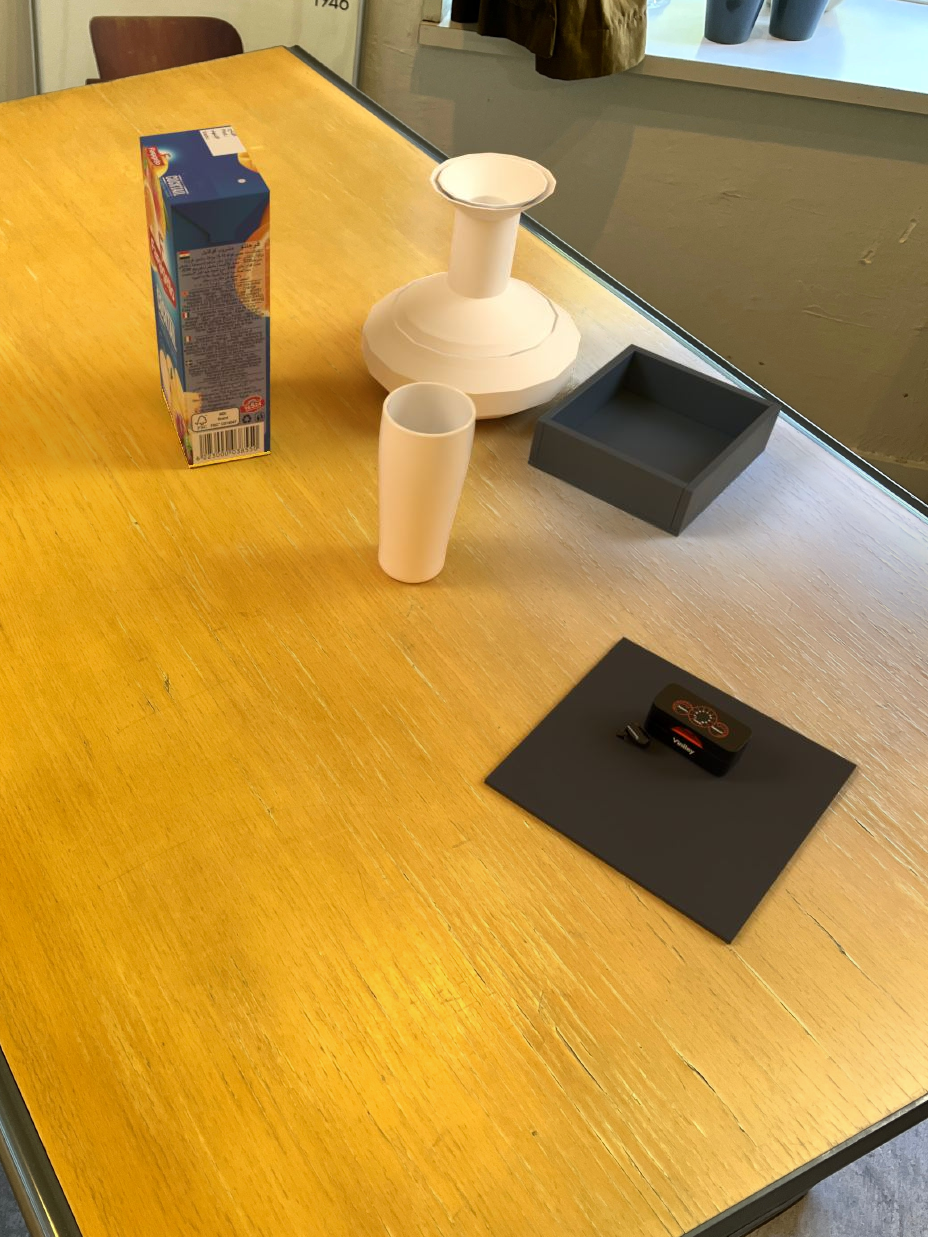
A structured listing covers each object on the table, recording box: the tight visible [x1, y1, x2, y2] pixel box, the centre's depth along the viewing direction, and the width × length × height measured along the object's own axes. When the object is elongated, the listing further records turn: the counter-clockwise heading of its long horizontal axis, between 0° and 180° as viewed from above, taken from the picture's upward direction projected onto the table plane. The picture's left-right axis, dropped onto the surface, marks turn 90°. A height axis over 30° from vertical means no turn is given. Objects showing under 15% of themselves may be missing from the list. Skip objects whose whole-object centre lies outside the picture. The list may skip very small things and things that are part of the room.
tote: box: [527, 343, 783, 538], centre depth 98 cm, size 15×16×5 cm
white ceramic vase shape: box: [361, 152, 582, 421], centre depth 101 cm, size 20×20×19 cm
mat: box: [483, 636, 858, 945], centre depth 77 cm, size 18×18×1 cm
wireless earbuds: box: [616, 683, 752, 777], centre depth 76 cm, size 5×7×3 cm, turn 44°
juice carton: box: [138, 124, 271, 465], centre depth 95 cm, size 12×8×24 cm, turn 15°
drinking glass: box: [377, 382, 476, 584], centre depth 85 cm, size 7×7×15 cm
